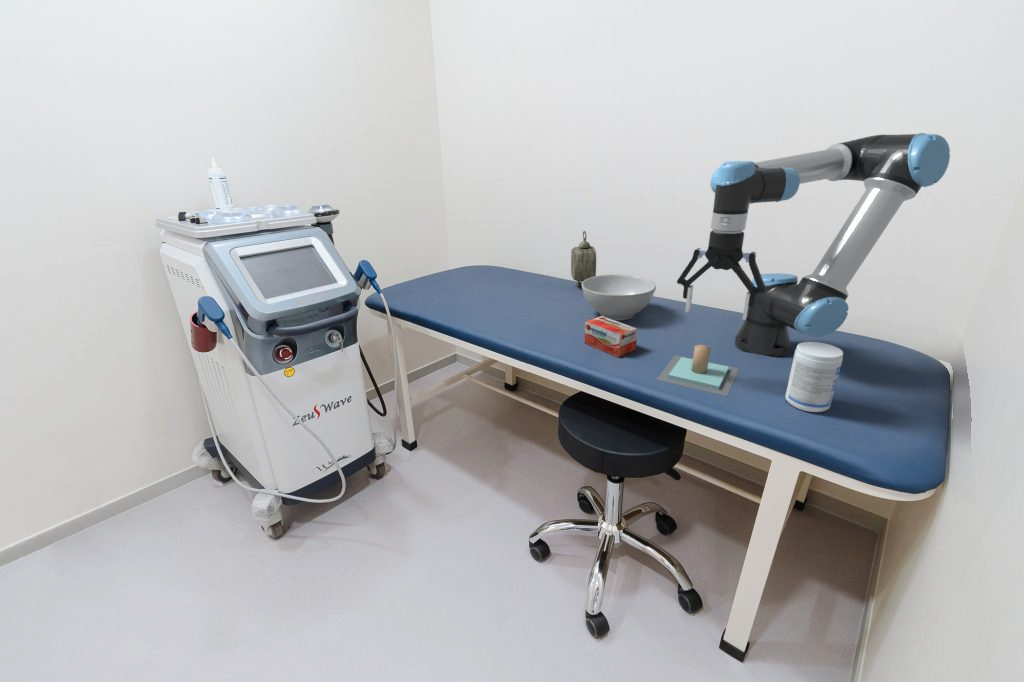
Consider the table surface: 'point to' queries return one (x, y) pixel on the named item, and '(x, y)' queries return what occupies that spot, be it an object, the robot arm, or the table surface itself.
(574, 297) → the table surface
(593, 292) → the decorative bowl
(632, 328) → the medicine box
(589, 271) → the grey hanging weight
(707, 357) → the lid
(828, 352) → the supplement tub
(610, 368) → the table surface
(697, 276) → the robot arm
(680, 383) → the mat
